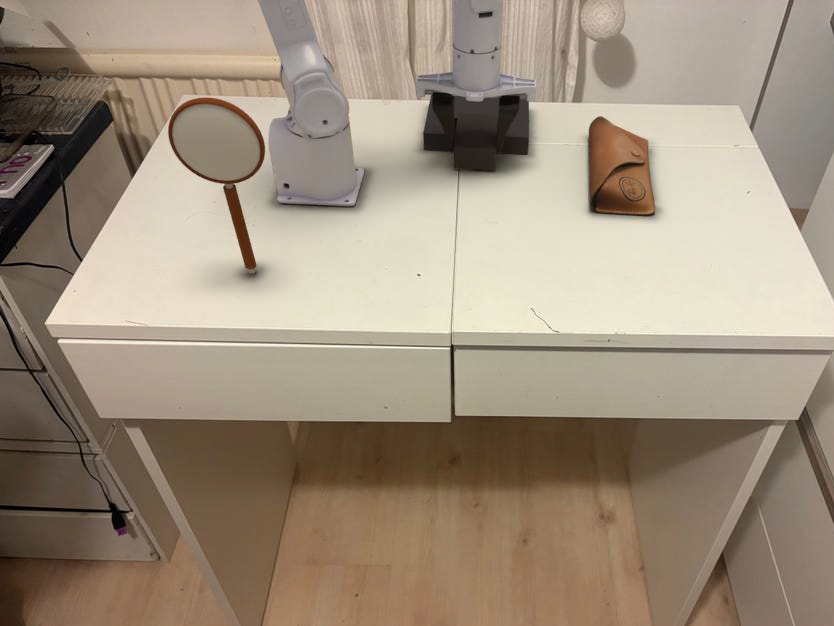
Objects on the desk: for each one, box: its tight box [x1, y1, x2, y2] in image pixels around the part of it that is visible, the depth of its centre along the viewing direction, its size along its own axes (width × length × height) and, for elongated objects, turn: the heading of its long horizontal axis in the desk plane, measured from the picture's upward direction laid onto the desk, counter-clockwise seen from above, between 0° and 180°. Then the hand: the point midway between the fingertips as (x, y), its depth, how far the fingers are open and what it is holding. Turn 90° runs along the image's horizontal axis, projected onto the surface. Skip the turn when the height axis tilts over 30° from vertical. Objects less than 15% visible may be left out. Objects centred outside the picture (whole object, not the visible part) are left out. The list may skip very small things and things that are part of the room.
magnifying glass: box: [167, 97, 266, 275], centre depth 70 cm, size 9×2×20 cm, turn 90°
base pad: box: [422, 95, 530, 155], centre depth 99 cm, size 14×12×2 cm
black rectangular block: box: [453, 113, 498, 171], centre depth 94 cm, size 5×9×3 cm, turn 177°
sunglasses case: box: [588, 115, 656, 216], centre depth 91 cm, size 18×7×7 cm
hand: (475, 149), depth 92 cm, fingers closed on black rectangular block, 5 cm apart
